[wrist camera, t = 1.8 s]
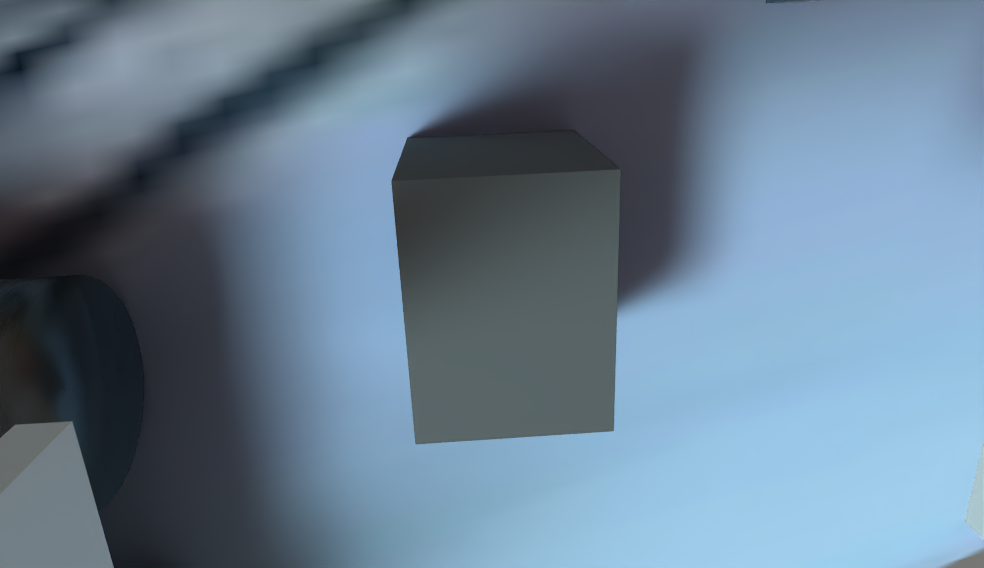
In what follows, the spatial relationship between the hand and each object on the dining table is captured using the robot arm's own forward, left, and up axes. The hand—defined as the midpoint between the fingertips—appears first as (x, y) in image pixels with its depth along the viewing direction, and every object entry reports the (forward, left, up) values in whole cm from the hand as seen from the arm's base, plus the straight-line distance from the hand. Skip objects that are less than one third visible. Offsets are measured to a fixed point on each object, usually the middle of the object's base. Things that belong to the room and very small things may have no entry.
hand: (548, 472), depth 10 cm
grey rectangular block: (0, 0, -11) cm, 11 cm away
